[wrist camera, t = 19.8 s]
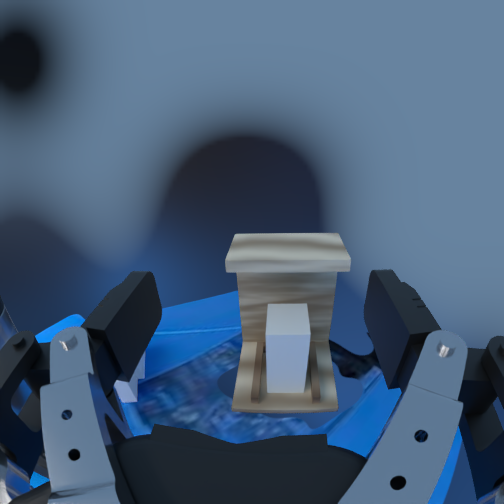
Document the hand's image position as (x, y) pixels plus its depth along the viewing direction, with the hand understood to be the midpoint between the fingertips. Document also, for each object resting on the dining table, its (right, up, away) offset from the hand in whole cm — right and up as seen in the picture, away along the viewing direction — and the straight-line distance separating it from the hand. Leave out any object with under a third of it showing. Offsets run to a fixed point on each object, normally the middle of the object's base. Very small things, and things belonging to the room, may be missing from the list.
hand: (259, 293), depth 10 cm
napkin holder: (-19, -19, +29) cm, 39 cm away
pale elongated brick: (+5, -16, +28) cm, 32 cm away
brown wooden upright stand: (+5, -16, +29) cm, 34 cm away
